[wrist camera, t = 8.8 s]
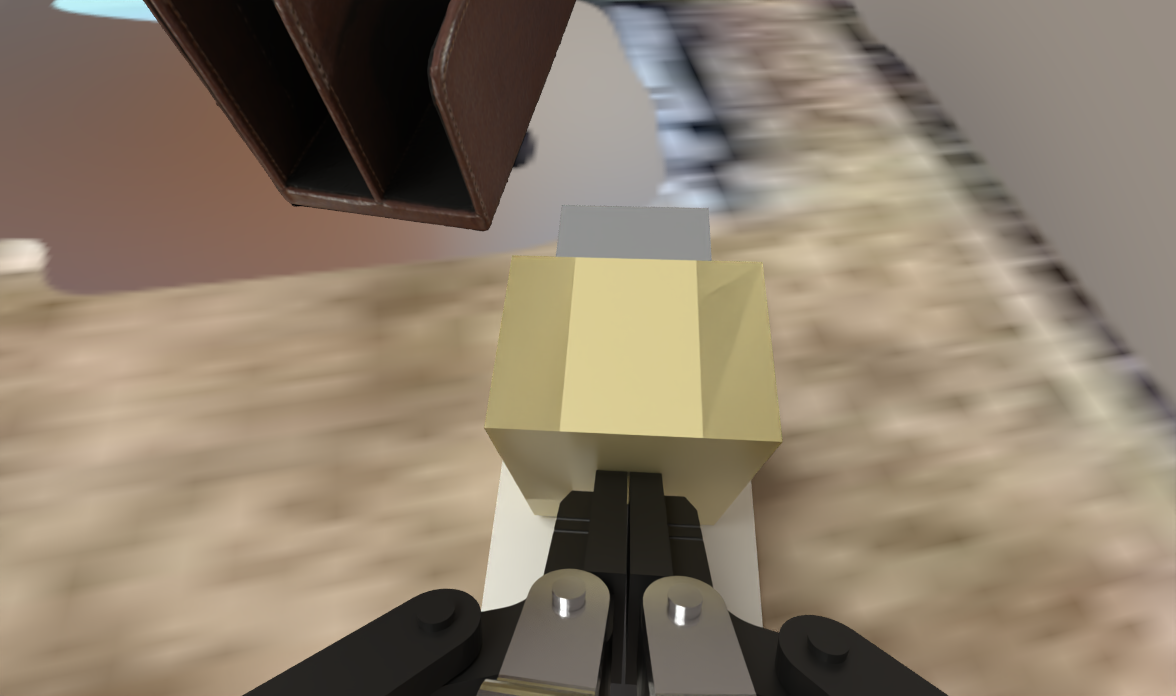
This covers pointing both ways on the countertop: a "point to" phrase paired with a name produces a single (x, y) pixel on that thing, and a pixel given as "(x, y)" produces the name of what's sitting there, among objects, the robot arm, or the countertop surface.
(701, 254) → the white base plate
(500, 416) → the sleeve
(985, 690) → the countertop surface
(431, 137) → the letter holder
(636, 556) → the robot arm
